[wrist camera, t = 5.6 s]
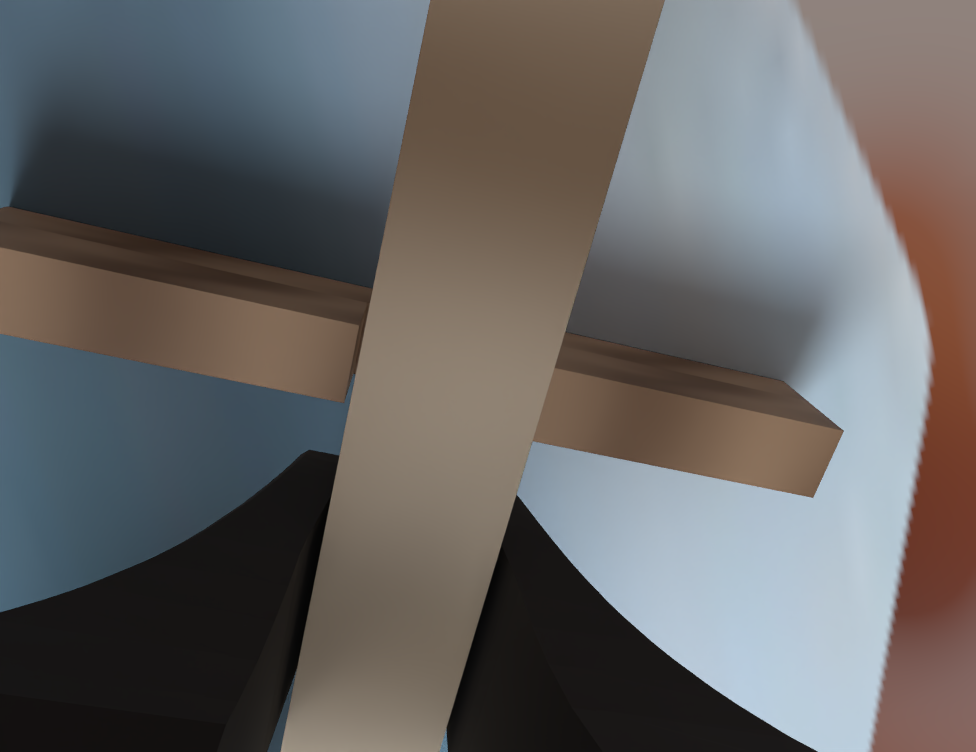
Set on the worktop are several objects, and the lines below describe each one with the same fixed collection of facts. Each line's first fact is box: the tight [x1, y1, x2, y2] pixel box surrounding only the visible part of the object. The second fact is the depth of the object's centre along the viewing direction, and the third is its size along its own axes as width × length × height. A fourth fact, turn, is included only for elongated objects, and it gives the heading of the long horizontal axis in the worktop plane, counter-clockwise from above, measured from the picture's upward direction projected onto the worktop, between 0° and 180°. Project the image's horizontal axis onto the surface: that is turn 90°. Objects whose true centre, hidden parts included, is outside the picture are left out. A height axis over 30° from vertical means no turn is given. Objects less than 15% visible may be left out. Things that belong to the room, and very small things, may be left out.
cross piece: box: [281, 0, 665, 752], centre depth 13 cm, size 18×2×8 cm, turn 166°
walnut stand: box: [0, 207, 844, 498], centre depth 19 cm, size 22×2×4 cm, turn 76°
